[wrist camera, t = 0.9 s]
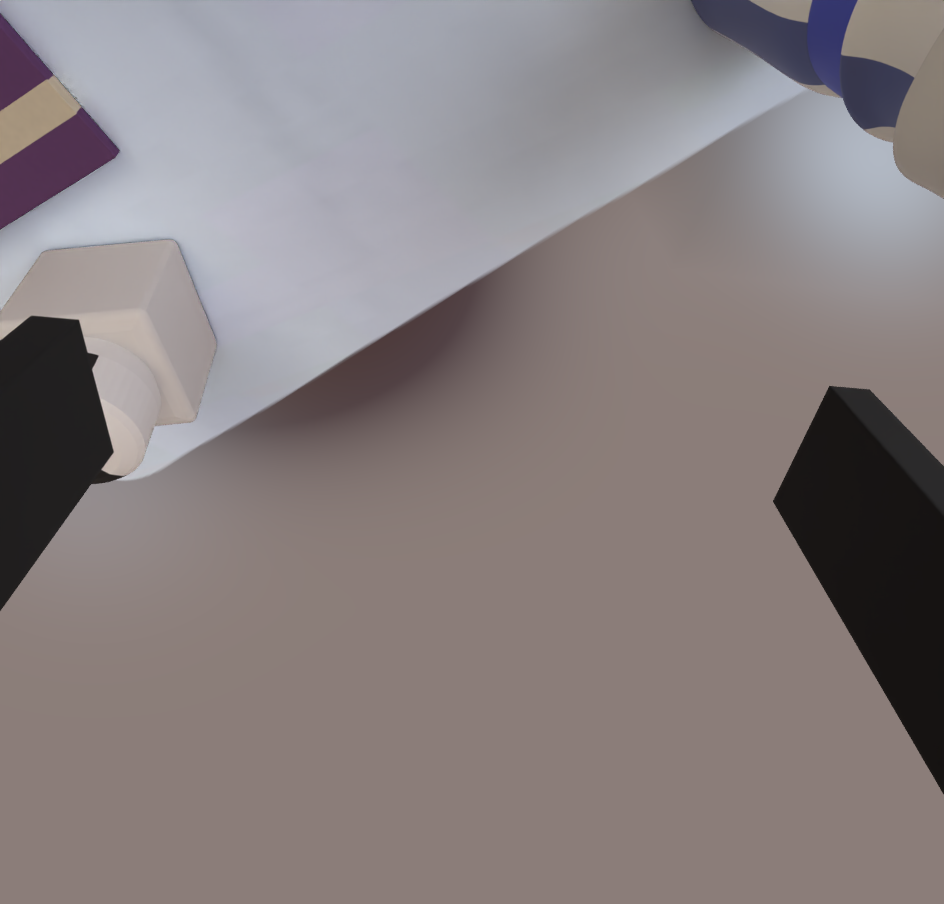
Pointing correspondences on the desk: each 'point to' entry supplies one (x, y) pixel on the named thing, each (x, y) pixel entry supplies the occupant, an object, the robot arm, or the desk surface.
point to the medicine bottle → (127, 334)
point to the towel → (40, 132)
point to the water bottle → (857, 64)
